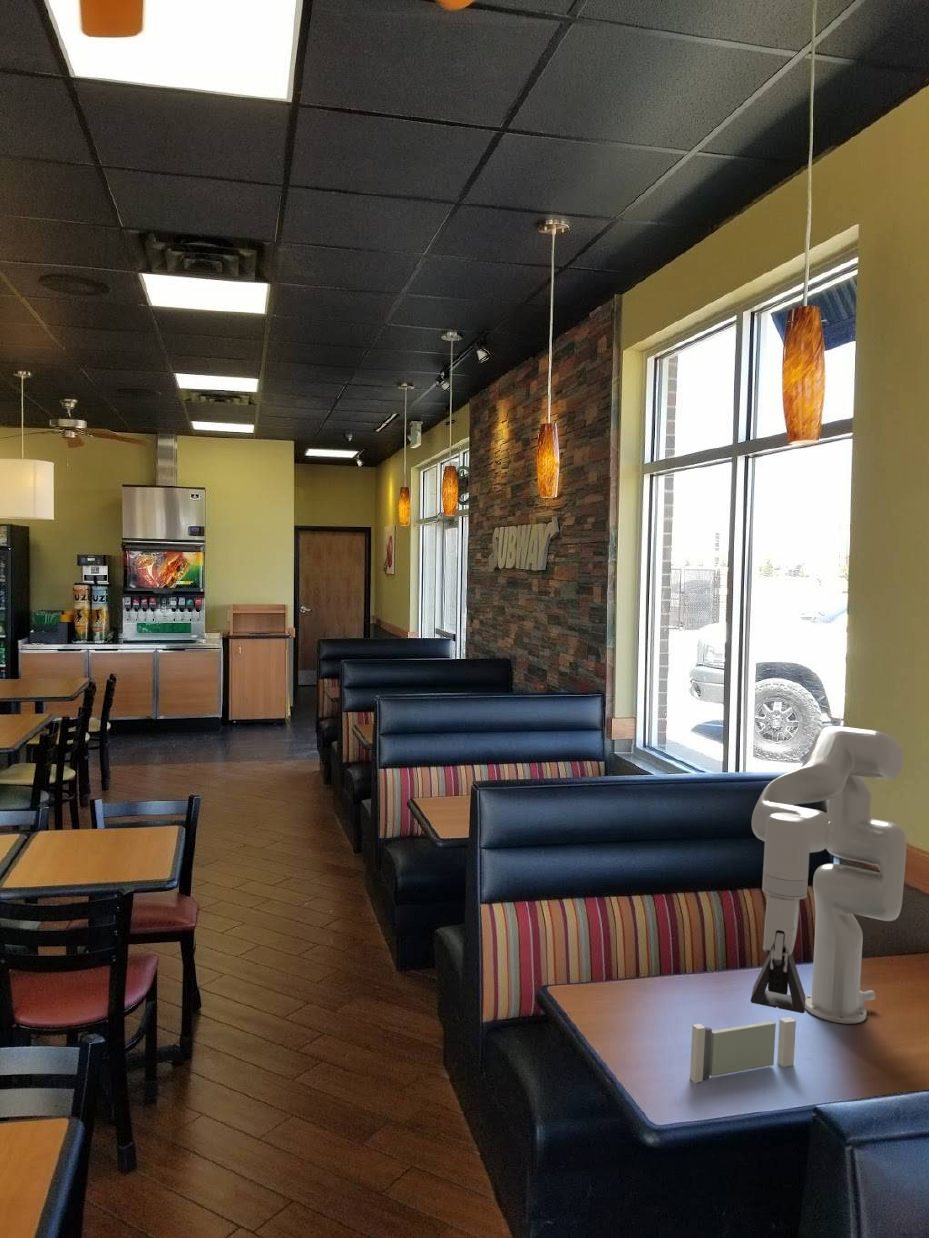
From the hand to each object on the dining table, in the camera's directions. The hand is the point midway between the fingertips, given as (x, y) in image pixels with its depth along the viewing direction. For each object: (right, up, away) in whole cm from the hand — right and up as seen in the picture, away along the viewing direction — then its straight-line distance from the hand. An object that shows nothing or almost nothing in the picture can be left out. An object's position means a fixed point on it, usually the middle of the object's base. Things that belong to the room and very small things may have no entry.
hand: (779, 983), depth 158 cm
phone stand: (0, -3, 0) cm, 3 cm away
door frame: (-4, -19, +7) cm, 21 cm away
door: (-5, -19, +7) cm, 21 cm away
